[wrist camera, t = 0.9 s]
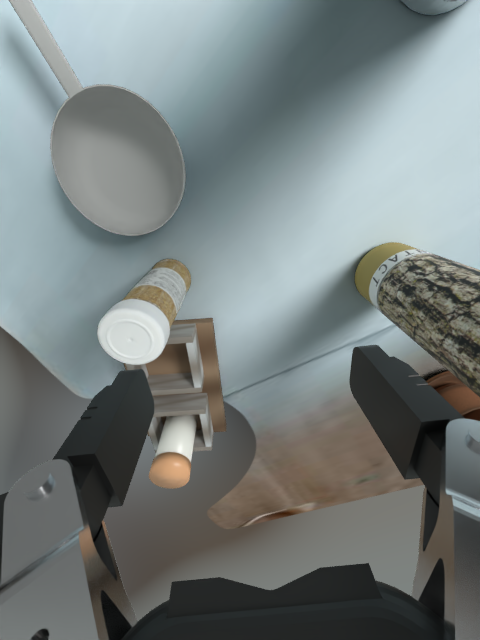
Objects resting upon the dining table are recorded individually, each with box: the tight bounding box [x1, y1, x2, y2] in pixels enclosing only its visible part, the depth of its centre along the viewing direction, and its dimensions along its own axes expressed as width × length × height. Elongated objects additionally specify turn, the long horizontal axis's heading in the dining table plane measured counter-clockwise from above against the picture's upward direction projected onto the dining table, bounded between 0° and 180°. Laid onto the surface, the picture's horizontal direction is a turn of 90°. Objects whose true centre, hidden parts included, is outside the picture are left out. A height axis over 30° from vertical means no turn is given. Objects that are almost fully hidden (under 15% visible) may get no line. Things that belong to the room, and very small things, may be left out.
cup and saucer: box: [426, 371, 480, 421], centre depth 36 cm, size 12×12×6 cm
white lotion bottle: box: [149, 414, 198, 488], centre depth 34 cm, size 5×5×9 cm
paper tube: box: [355, 242, 480, 397], centre depth 18 cm, size 7×7×25 cm
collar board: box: [124, 318, 226, 452], centre depth 34 cm, size 19×12×4 cm, turn 4°
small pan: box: [9, 0, 186, 236], centre depth 21 cm, size 11×18×4 cm, turn 25°
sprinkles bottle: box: [97, 259, 191, 365], centre depth 23 cm, size 5×5×13 cm
